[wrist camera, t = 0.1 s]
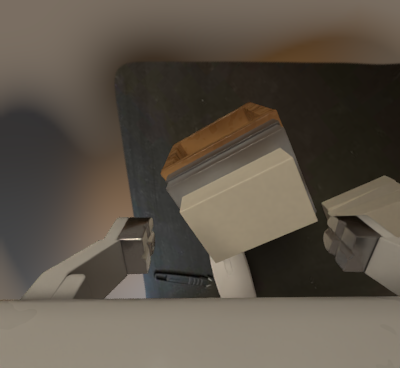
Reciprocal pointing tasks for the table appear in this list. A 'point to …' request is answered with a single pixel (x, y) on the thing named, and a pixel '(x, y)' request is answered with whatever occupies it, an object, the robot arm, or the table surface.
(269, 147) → the oak stand
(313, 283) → the table surface
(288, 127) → the table surface
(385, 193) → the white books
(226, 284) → the computer mouse
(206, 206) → the beige flat block
